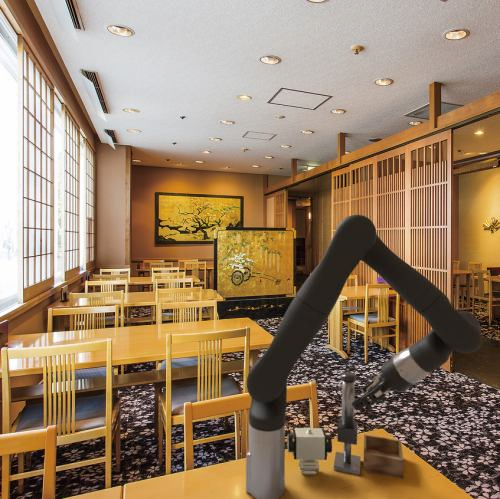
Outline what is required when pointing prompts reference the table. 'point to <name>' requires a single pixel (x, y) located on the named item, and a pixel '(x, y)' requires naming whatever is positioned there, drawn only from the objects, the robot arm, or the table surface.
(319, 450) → the pneumatic rotary actuator
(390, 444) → the bin
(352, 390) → the strut
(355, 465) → the stud mount
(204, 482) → the table surface
